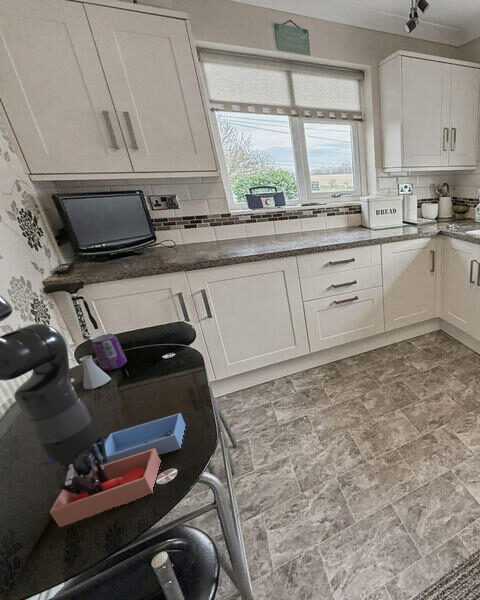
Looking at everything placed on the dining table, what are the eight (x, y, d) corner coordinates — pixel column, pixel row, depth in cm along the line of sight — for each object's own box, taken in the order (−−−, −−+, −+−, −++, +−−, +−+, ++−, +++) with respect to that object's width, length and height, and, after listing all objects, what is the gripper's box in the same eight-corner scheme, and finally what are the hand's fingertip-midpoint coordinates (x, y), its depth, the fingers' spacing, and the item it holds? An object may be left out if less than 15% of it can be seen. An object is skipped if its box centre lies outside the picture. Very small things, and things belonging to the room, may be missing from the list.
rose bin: (60, 528, 62) (49, 512, 61) (79, 490, 70) (70, 475, 68) (153, 494, 68) (145, 478, 66) (161, 462, 75) (155, 447, 74)
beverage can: (131, 360, 124) (119, 331, 120) (120, 370, 118) (107, 340, 113) (111, 362, 123) (98, 334, 119) (98, 373, 117) (84, 343, 112)
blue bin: (104, 475, 73) (96, 460, 72) (117, 448, 81) (109, 433, 79) (180, 449, 79) (174, 435, 77) (186, 426, 87) (180, 412, 85)
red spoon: (73, 510, 64) (68, 503, 64) (82, 493, 68) (77, 485, 67) (145, 485, 69) (141, 477, 68) (150, 469, 73) (146, 462, 72)
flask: (91, 391, 106) (78, 365, 102) (78, 388, 108) (65, 362, 105) (116, 378, 112) (104, 353, 108) (103, 375, 115) (92, 351, 111)
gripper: (57, 412, 66) (92, 475, 72) (17, 461, 54) (63, 531, 60) (103, 399, 69) (133, 461, 75) (74, 443, 57) (113, 512, 63)
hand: (102, 492), depth 68 cm, fingers closed on red spoon, 2 cm apart
